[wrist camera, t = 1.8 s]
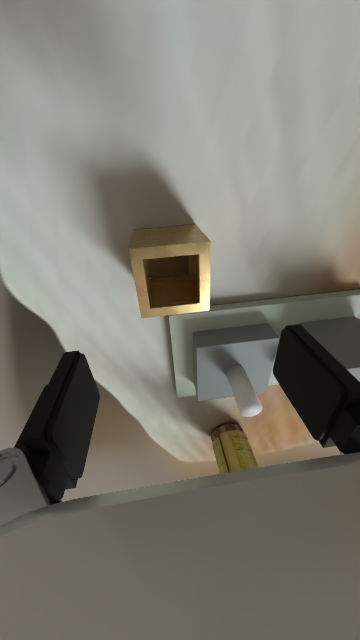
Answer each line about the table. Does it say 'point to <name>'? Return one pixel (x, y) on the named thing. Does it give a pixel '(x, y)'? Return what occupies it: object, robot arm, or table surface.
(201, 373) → the coupling rig
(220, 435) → the sauce bottle
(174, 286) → the hollow wooden square tube
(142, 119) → the table surface
